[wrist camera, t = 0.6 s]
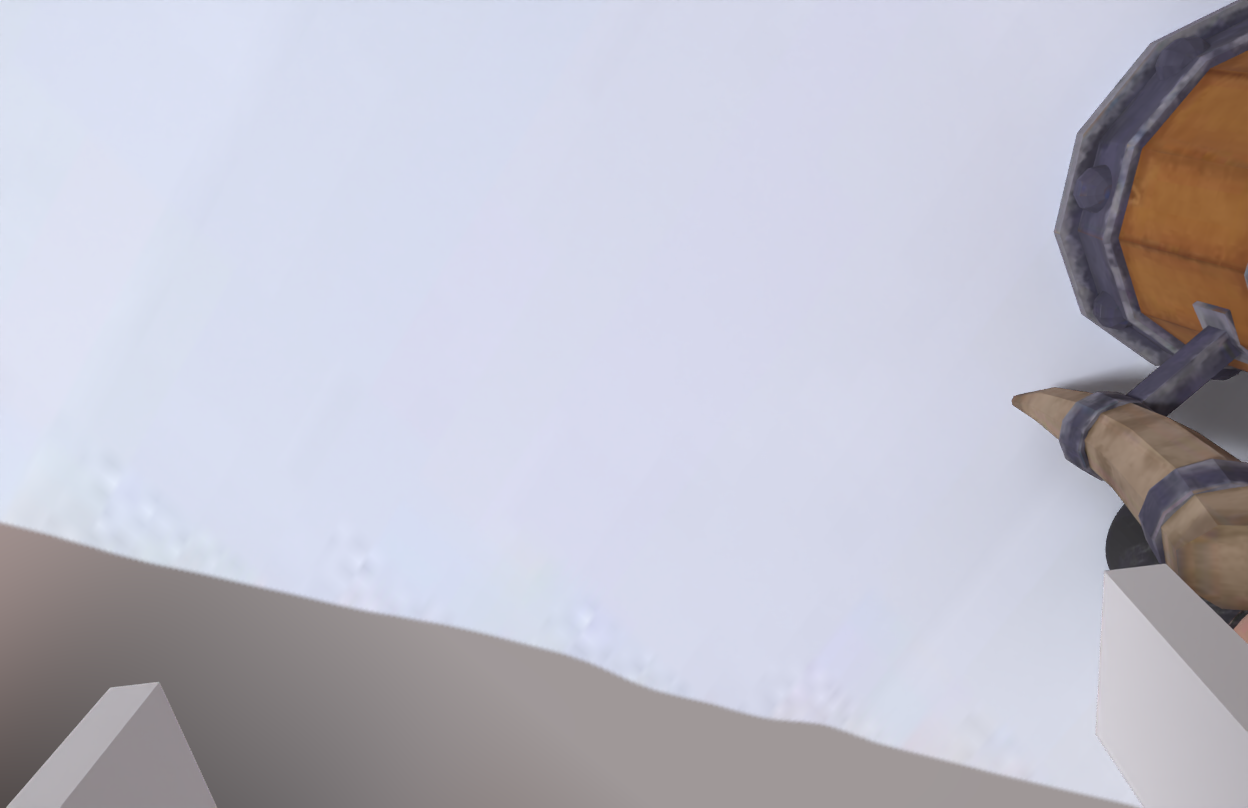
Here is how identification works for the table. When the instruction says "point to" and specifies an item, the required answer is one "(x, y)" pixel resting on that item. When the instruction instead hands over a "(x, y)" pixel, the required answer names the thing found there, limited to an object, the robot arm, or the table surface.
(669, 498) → the table surface
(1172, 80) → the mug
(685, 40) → the table surface
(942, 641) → the table surface
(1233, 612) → the travel mug
